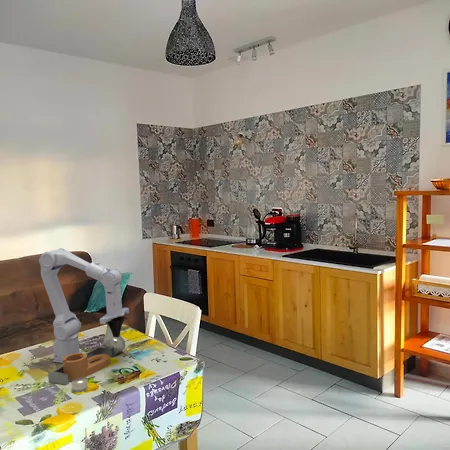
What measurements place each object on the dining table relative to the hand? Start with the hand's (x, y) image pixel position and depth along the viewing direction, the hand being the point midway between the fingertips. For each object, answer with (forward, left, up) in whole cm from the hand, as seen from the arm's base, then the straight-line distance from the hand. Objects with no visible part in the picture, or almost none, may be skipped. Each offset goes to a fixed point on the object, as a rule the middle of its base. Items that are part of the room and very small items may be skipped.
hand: (116, 336), depth 156 cm
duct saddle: (-8, -6, -10) cm, 14 cm away
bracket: (-6, -10, -10) cm, 15 cm away
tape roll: (+1, -22, -10) cm, 24 cm away
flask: (-17, +16, -10) cm, 25 cm away
